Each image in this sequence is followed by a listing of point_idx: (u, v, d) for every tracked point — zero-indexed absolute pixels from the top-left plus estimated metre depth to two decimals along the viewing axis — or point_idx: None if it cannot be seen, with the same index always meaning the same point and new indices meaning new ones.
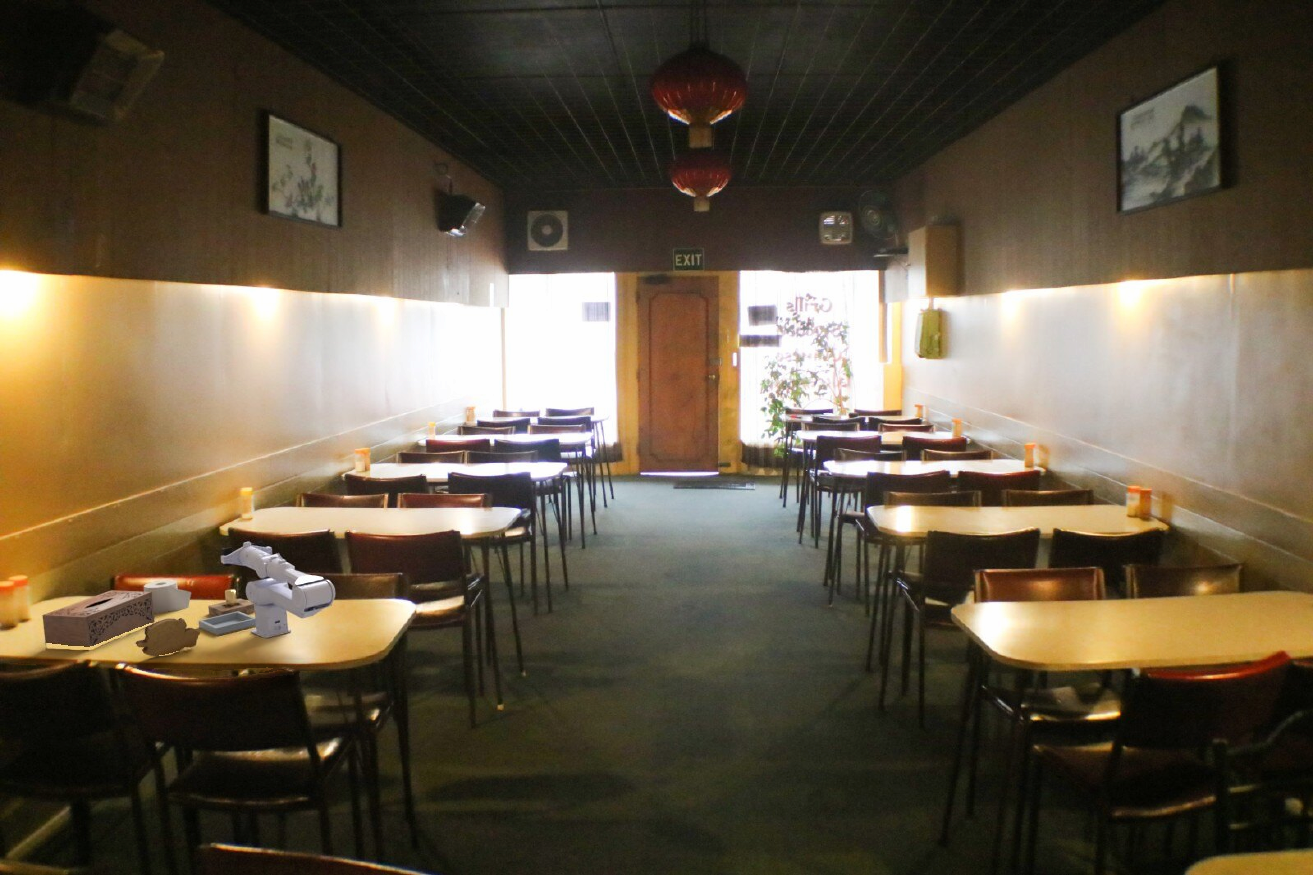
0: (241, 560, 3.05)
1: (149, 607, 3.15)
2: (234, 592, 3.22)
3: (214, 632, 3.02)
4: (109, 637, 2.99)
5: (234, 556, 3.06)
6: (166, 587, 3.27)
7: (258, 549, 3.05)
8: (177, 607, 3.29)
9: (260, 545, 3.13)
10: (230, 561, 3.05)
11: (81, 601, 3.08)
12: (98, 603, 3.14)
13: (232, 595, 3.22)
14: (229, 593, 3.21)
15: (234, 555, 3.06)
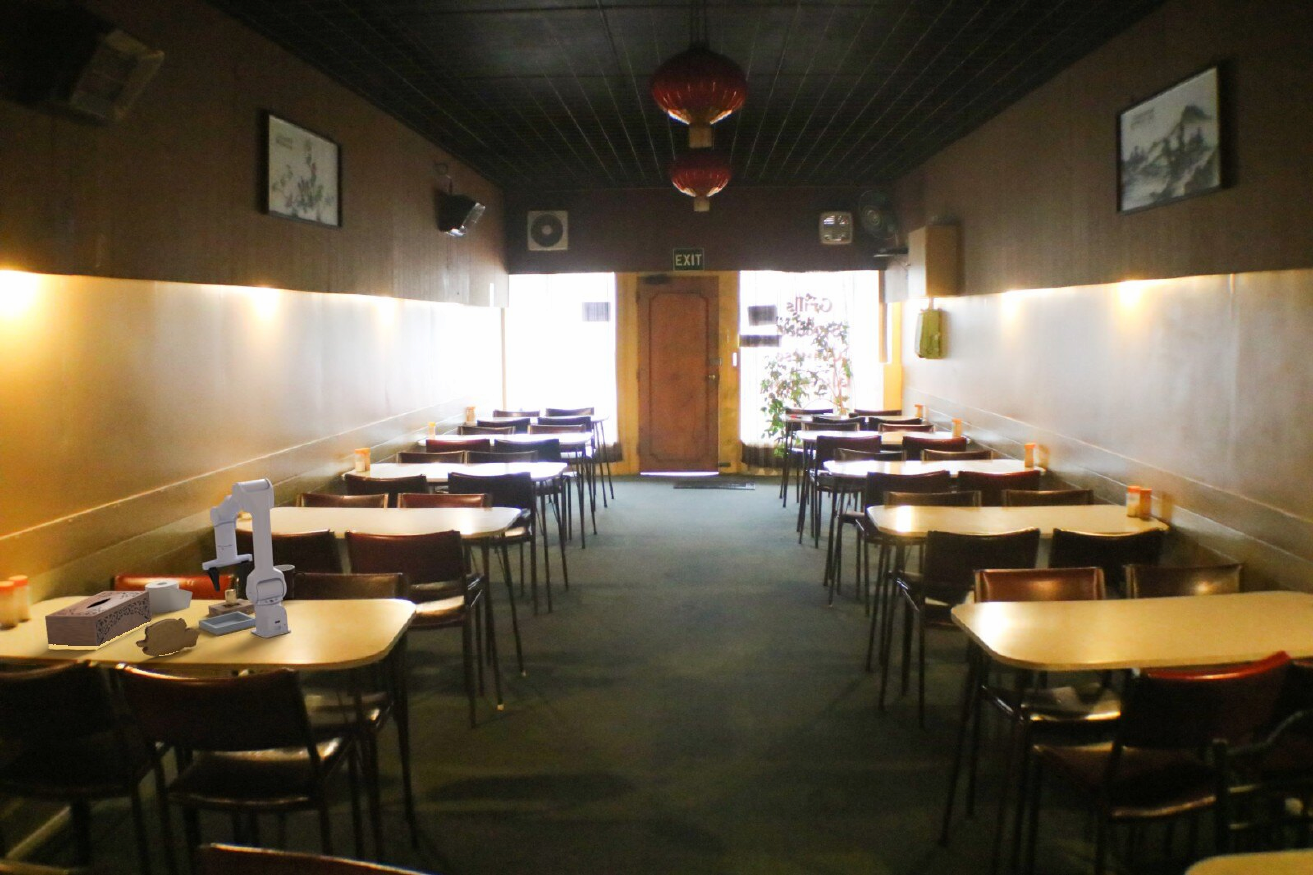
0: (218, 555, 3.19)
1: (147, 606, 3.16)
2: (234, 592, 3.22)
3: (214, 632, 3.02)
4: (114, 636, 3.00)
5: None
6: (167, 587, 3.27)
7: None
8: (178, 607, 3.29)
9: None
10: None
11: (78, 602, 3.07)
12: (93, 604, 3.13)
13: (232, 595, 3.22)
14: (229, 593, 3.21)
15: None
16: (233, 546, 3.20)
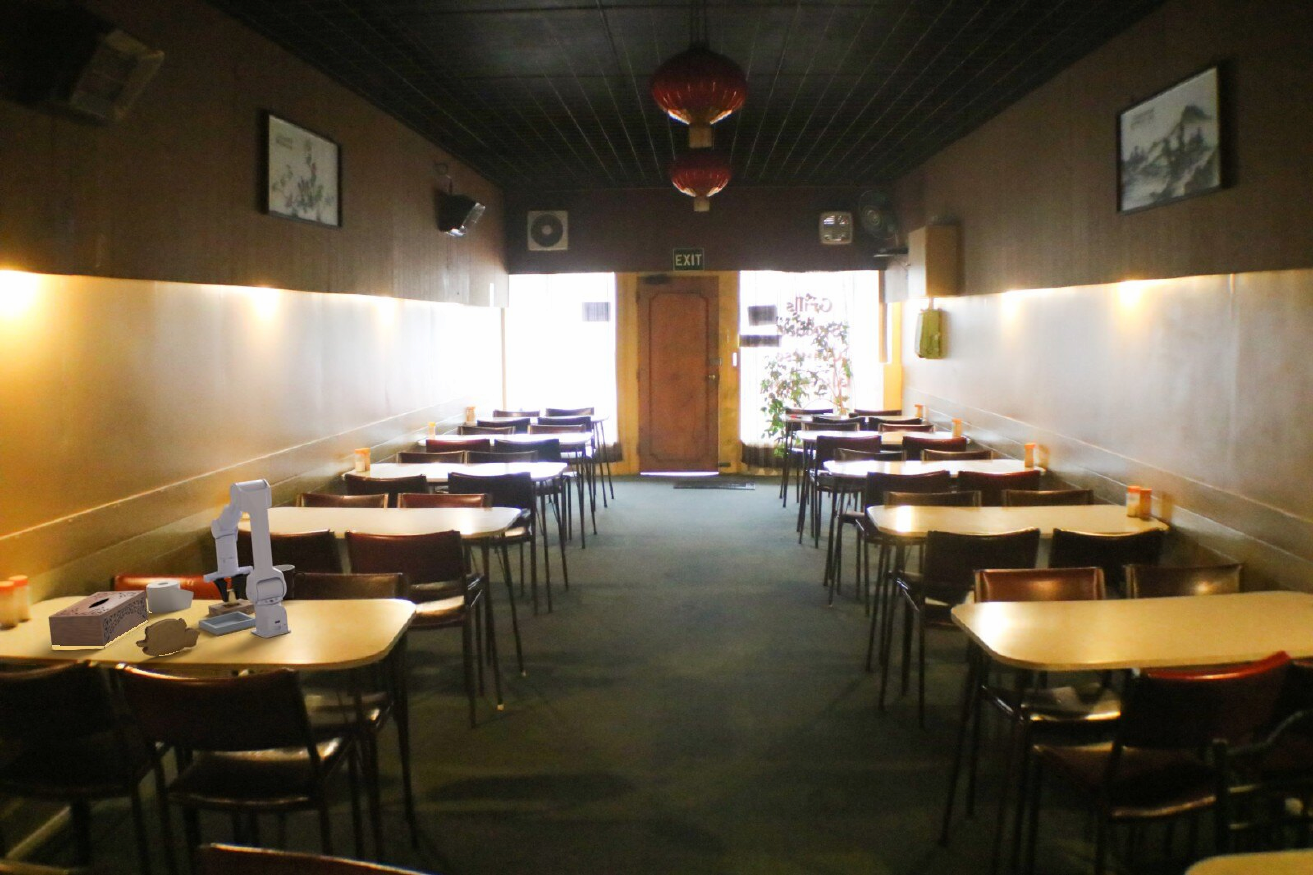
0: (219, 568, 3.19)
1: (144, 605, 3.17)
2: (234, 592, 3.22)
3: (214, 632, 3.02)
4: (117, 635, 3.01)
5: None
6: (169, 587, 3.27)
7: None
8: (179, 607, 3.29)
9: None
10: None
11: (76, 603, 3.06)
12: None
13: (232, 595, 3.22)
14: (229, 593, 3.21)
15: None
16: (234, 558, 3.20)
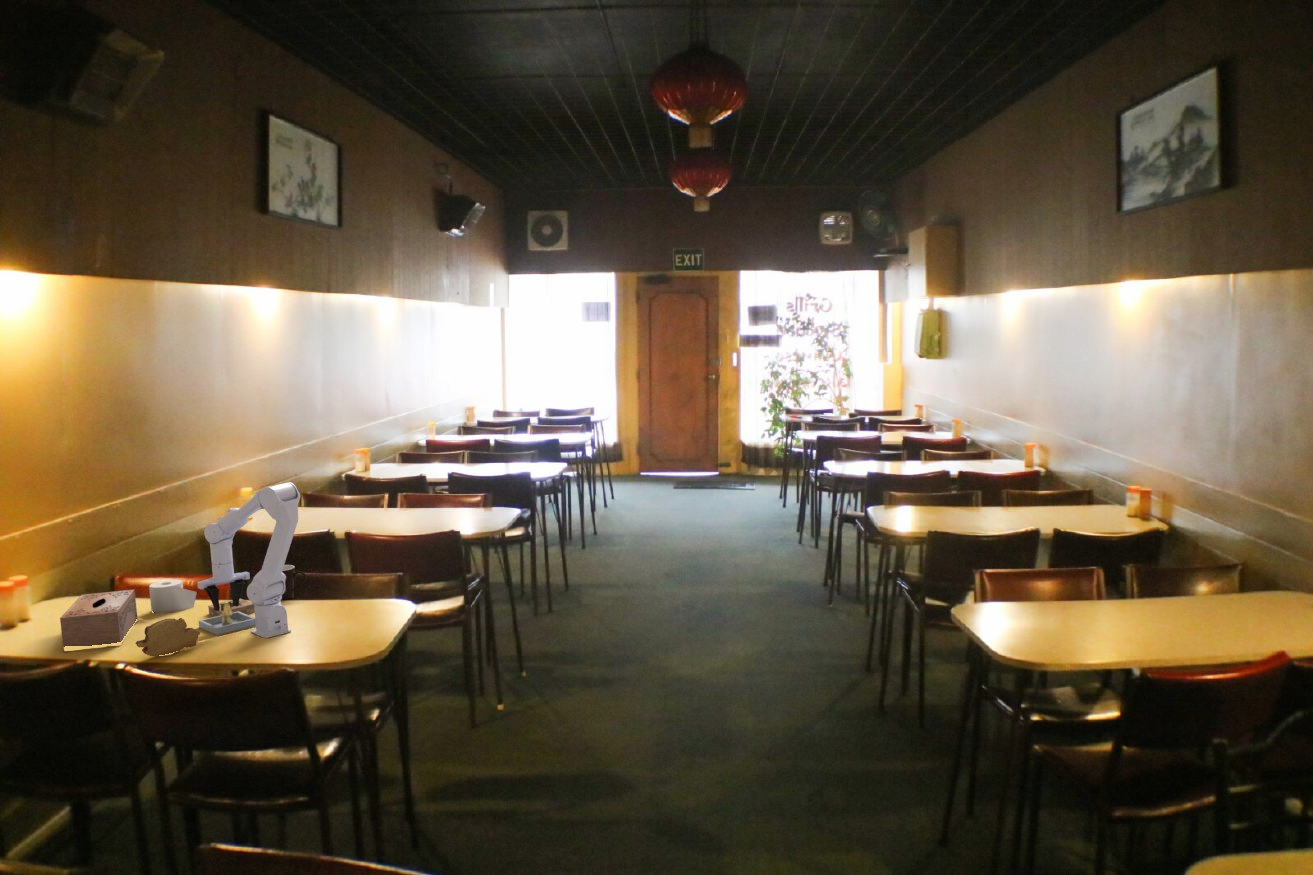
0: (214, 574, 3.05)
1: (135, 604, 3.18)
2: (229, 604, 3.08)
3: (214, 632, 3.02)
4: (125, 632, 3.03)
5: None
6: (171, 587, 3.27)
7: None
8: (182, 607, 3.29)
9: None
10: None
11: (73, 605, 3.04)
12: None
13: (228, 608, 3.07)
14: (224, 605, 3.07)
15: None
16: (230, 564, 3.06)
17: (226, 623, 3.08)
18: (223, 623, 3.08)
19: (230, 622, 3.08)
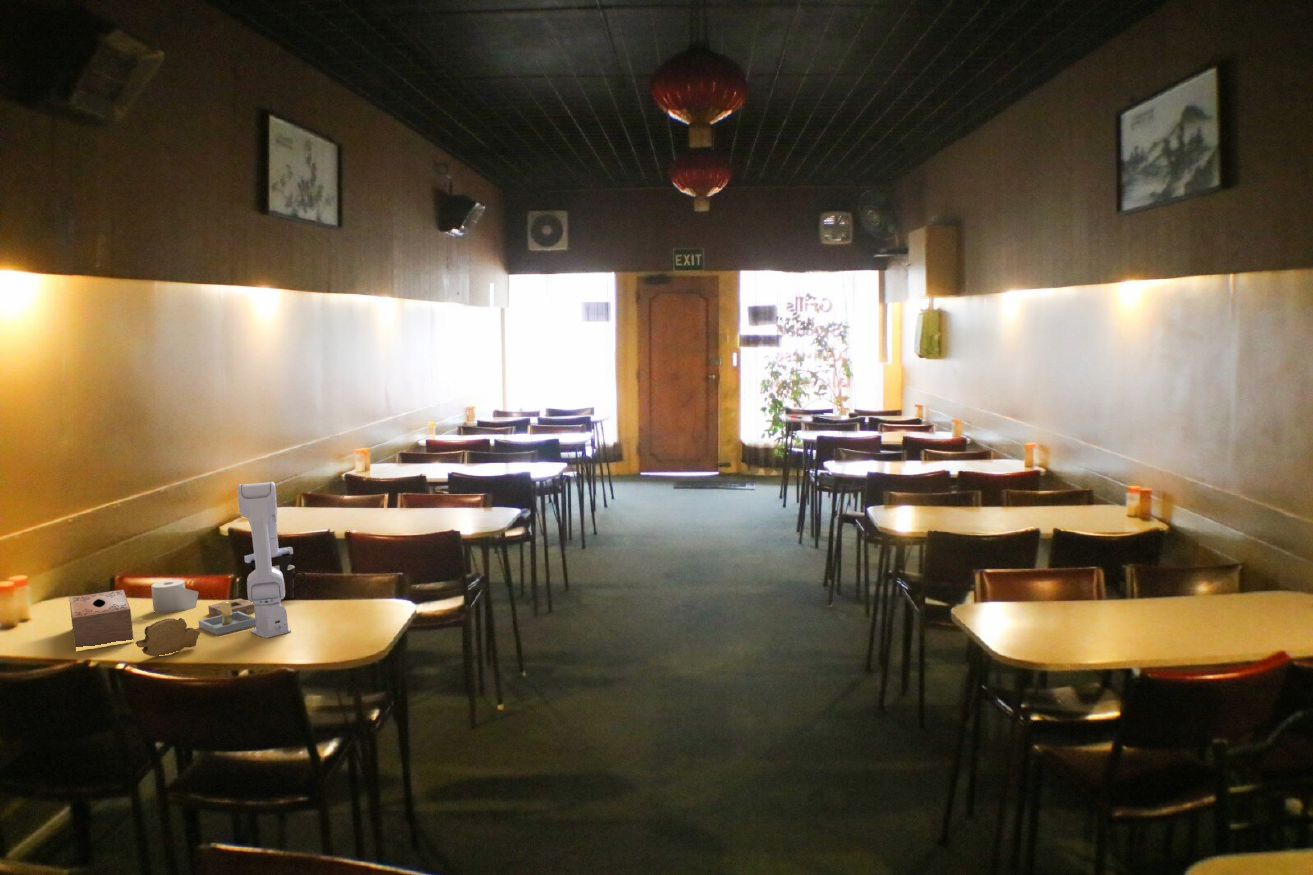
0: None
1: None
2: (230, 604, 3.08)
3: (214, 632, 3.02)
4: None
5: None
6: (174, 587, 3.27)
7: None
8: (184, 607, 3.29)
9: None
10: (253, 556, 3.17)
11: (71, 606, 3.02)
12: None
13: (228, 608, 3.08)
14: (224, 605, 3.07)
15: None
16: (275, 539, 3.20)
17: (226, 623, 3.08)
18: (223, 623, 3.08)
19: (230, 622, 3.08)
